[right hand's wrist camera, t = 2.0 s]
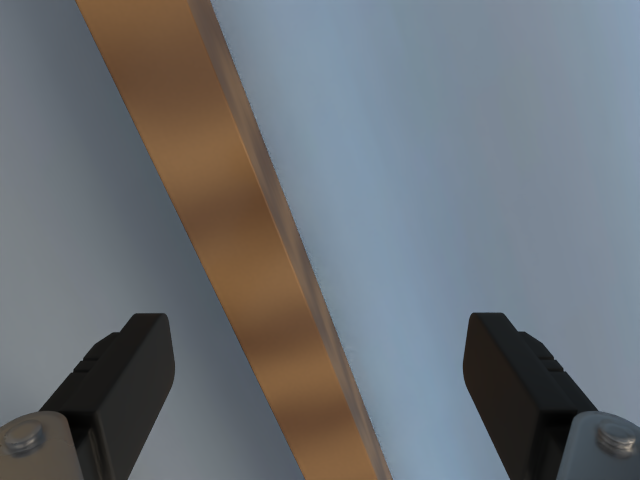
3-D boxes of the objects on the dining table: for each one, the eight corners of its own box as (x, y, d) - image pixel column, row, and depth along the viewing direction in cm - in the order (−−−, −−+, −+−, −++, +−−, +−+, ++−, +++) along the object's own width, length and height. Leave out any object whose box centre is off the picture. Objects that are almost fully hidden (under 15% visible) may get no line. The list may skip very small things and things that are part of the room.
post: (83, -93, 22) (-1, -156, 16) (162, -126, 22) (105, -205, 16) (431, 691, 48) (448, 778, 42) (470, 683, 48) (493, 769, 42)
